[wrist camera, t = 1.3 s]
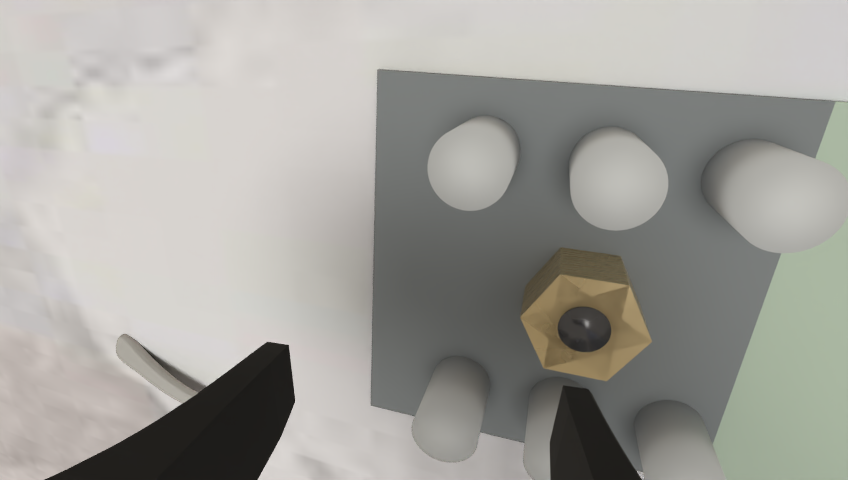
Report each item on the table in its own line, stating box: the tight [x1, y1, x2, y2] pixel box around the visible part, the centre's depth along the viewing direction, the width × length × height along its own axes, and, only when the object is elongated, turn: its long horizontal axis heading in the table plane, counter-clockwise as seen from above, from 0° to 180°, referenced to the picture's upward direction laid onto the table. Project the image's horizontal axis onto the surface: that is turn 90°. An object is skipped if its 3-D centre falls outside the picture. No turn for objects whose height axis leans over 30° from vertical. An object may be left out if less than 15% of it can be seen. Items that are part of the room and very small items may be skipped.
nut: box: [520, 247, 652, 381], centre depth 20 cm, size 4×5×3 cm
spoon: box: [116, 334, 199, 403], centre depth 30 cm, size 3×12×2 cm, turn 67°
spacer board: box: [371, 70, 848, 480], centre depth 19 cm, size 18×26×4 cm
